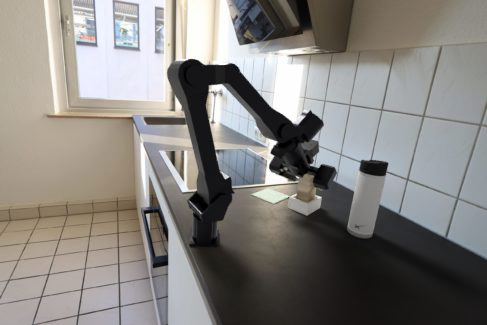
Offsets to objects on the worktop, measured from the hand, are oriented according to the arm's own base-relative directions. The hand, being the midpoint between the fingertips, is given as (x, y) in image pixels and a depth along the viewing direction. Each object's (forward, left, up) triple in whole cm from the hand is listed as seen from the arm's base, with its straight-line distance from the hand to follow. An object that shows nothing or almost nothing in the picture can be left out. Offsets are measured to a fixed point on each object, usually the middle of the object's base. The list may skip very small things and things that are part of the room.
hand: (308, 184), depth 86 cm
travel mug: (-14, -11, -8) cm, 19 cm away
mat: (+8, +9, -7) cm, 14 cm away
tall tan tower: (0, 0, -7) cm, 7 cm away
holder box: (0, 0, -7) cm, 7 cm away
